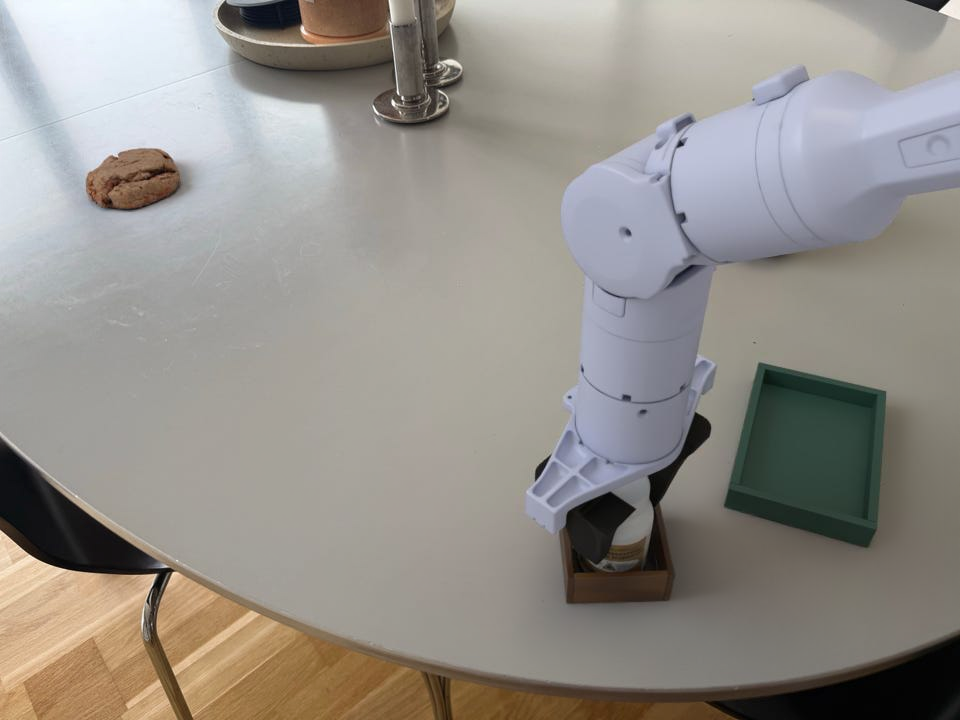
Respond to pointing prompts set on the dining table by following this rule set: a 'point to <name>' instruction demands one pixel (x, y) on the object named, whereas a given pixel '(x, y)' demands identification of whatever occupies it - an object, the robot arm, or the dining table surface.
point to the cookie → (133, 179)
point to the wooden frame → (621, 574)
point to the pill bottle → (628, 533)
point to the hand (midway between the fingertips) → (615, 524)
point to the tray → (811, 454)
